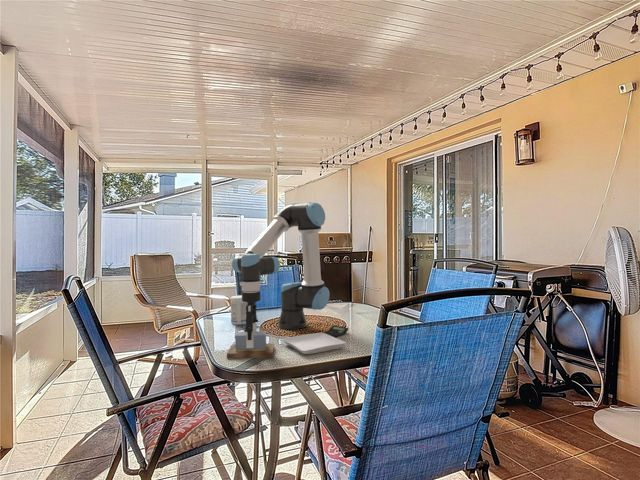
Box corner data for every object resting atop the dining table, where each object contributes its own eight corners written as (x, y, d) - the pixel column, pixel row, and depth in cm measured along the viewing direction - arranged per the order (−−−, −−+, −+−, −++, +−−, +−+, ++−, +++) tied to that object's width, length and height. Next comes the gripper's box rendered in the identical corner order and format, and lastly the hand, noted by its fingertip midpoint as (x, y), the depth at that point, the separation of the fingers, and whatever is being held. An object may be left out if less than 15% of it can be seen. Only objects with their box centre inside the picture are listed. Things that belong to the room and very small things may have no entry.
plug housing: (235, 350, 152) (235, 335, 152) (237, 346, 158) (237, 332, 158) (265, 349, 153) (265, 334, 153) (266, 345, 159) (266, 331, 159)
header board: (274, 348, 162) (274, 334, 162) (272, 357, 150) (272, 343, 150) (231, 349, 161) (231, 336, 161) (226, 358, 149) (226, 344, 149)
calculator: (318, 335, 183) (318, 329, 183) (333, 330, 192) (333, 324, 192) (333, 339, 177) (333, 332, 177) (348, 333, 186) (348, 327, 186)
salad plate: (281, 345, 168) (281, 337, 168) (322, 338, 178) (322, 331, 178) (302, 359, 149) (302, 350, 149) (347, 350, 160) (347, 342, 160)
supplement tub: (248, 320, 214) (248, 294, 214) (249, 324, 205) (248, 297, 205) (230, 321, 212) (230, 295, 212) (230, 325, 203) (230, 298, 203)
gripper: (245, 287, 167) (246, 334, 168) (237, 296, 142) (238, 352, 143) (262, 286, 168) (263, 334, 168) (257, 296, 143) (258, 351, 144)
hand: (251, 342), depth 156 cm, fingers open, 13 cm apart
